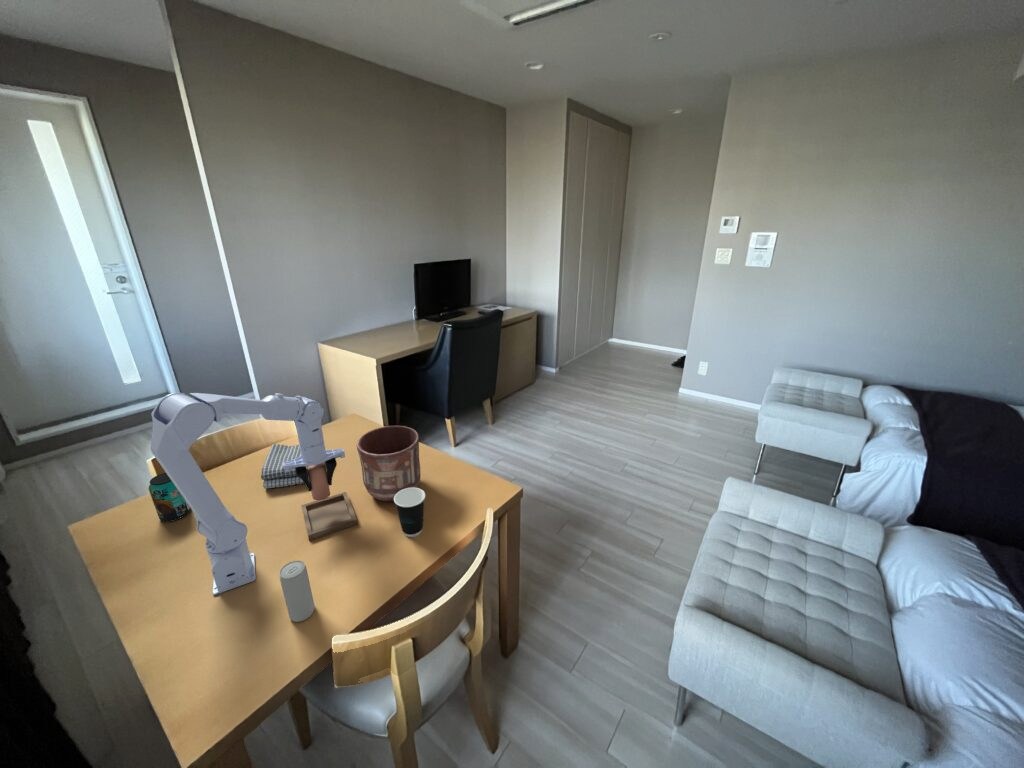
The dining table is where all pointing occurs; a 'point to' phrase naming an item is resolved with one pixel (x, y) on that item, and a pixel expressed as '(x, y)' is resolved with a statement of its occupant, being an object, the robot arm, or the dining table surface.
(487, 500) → the dining table surface
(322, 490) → the dowel
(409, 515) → the dixie cup
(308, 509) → the tray
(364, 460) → the pottery
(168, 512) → the beverage can
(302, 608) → the beverage can
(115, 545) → the dining table surface
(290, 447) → the towel
